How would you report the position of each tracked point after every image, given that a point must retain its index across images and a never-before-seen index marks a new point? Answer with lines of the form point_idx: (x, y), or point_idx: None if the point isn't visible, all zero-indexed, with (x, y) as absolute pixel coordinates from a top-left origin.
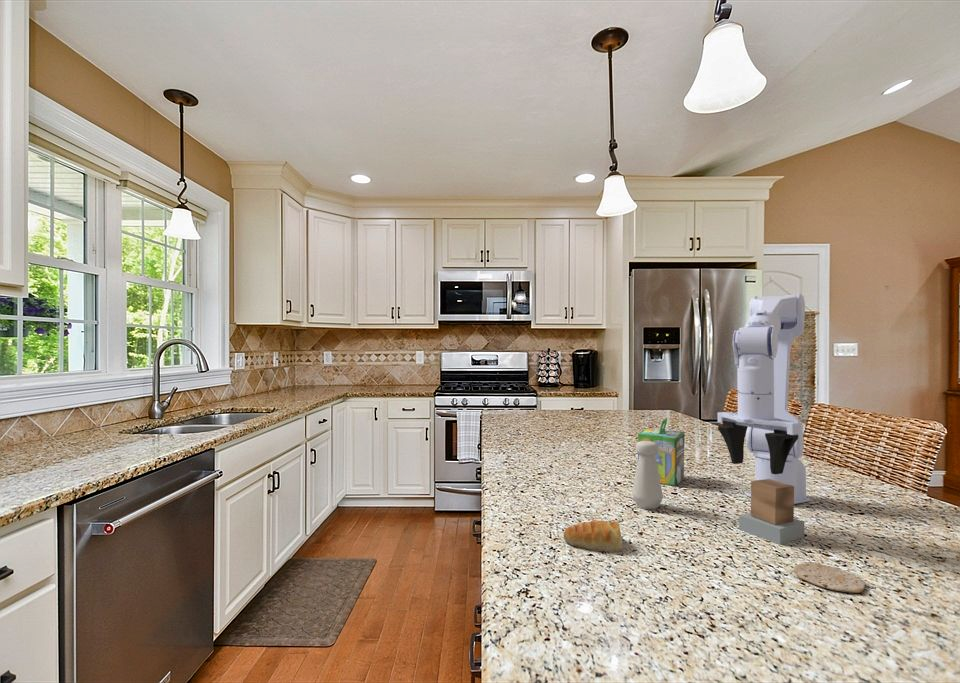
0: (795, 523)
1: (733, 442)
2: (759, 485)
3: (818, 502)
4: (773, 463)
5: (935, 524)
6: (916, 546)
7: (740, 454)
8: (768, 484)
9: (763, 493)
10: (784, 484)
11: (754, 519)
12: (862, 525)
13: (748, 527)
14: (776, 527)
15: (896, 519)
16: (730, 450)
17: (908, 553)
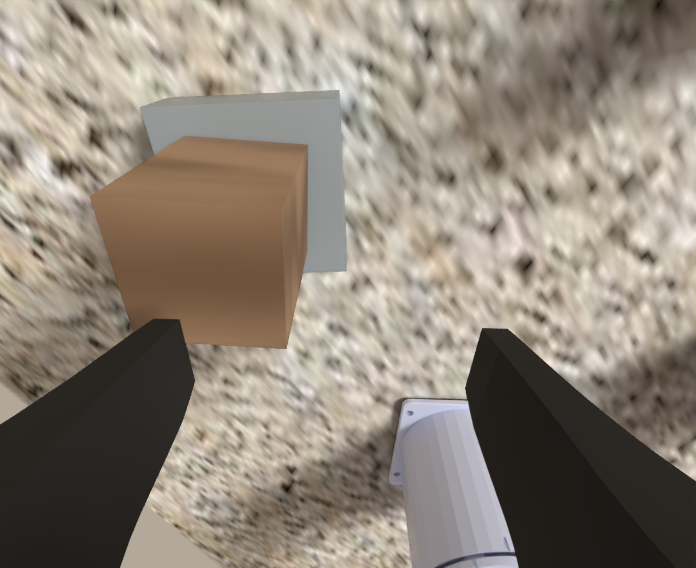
0: None
1: (579, 499)
2: (219, 200)
3: (377, 484)
4: (99, 365)
5: (192, 523)
6: None
7: (491, 431)
8: (187, 243)
9: (204, 183)
10: None
11: (269, 117)
12: (229, 434)
13: (293, 94)
14: (158, 111)
15: (235, 503)
16: (561, 397)
17: (59, 364)
